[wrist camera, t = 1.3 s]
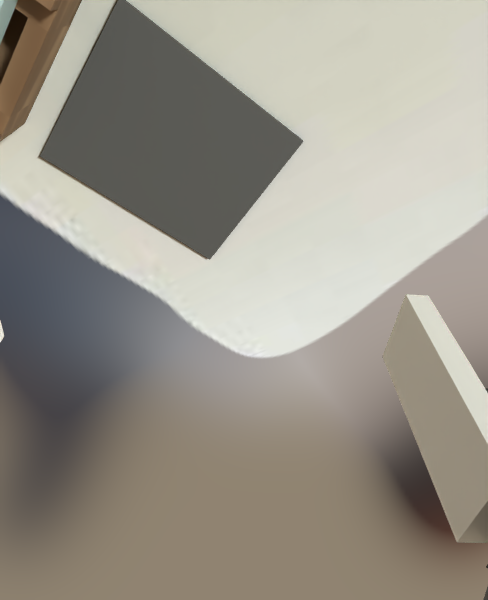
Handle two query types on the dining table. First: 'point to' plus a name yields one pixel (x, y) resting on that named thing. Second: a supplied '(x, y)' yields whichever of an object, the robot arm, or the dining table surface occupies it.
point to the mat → (167, 134)
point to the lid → (6, 14)
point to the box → (29, 55)
